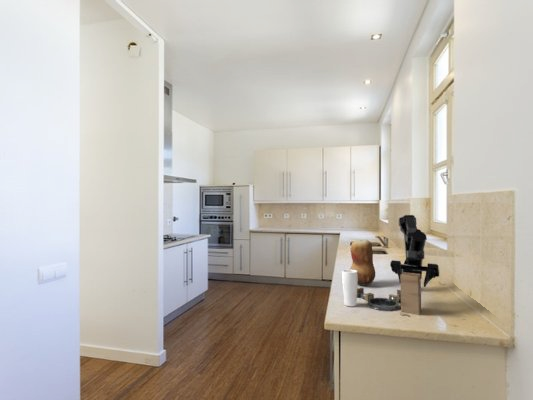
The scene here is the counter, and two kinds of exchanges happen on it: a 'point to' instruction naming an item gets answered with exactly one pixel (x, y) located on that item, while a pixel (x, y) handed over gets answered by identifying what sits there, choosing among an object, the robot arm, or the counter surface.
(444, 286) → the counter surface
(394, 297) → the shaft
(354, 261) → the butternut squash
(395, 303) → the dark grey shallow bowl
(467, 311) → the counter surface
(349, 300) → the drinking glass
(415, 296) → the coupling post
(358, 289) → the shaft
